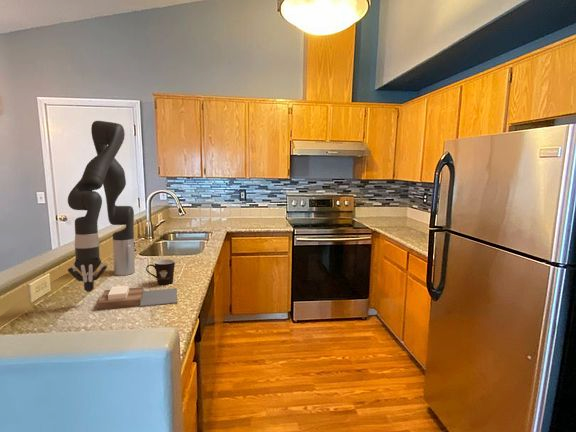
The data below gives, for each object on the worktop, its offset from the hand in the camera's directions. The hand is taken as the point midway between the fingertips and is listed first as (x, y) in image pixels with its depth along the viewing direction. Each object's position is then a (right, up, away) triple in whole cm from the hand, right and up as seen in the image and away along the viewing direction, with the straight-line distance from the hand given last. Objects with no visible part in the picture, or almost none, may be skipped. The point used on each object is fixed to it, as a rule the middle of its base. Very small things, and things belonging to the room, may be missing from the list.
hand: (89, 291), depth 120 cm
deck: (+10, -5, +5) cm, 12 cm away
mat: (+23, -5, +9) cm, 25 cm away
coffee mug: (+17, -3, +27) cm, 32 cm away
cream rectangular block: (+9, -2, +4) cm, 10 cm away
